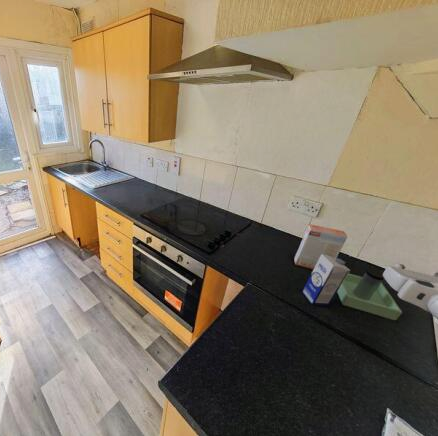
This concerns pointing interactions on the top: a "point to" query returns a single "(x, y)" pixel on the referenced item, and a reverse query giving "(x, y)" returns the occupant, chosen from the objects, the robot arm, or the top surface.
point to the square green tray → (376, 304)
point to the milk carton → (325, 280)
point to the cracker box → (319, 245)
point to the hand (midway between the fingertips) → (417, 269)
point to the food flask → (368, 284)
